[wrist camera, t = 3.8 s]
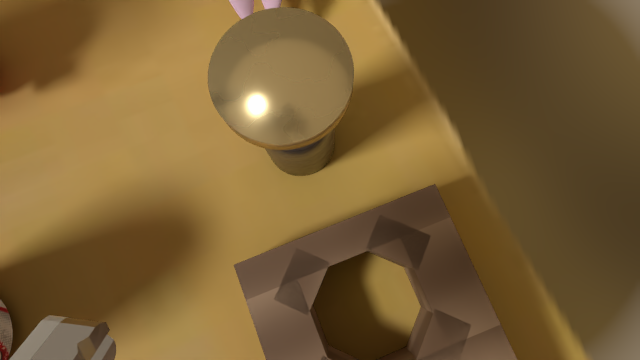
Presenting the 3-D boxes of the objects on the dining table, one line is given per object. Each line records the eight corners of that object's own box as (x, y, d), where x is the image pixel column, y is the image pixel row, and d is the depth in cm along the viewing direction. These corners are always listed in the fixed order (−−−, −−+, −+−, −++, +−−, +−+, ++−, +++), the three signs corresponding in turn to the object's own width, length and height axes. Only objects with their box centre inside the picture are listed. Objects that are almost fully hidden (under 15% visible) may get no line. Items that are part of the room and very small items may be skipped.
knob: (360, 167, 25) (377, 110, 16) (274, 201, 25) (235, 165, 15) (326, 87, 27) (321, -13, 17) (243, 119, 26) (189, 37, 17)
